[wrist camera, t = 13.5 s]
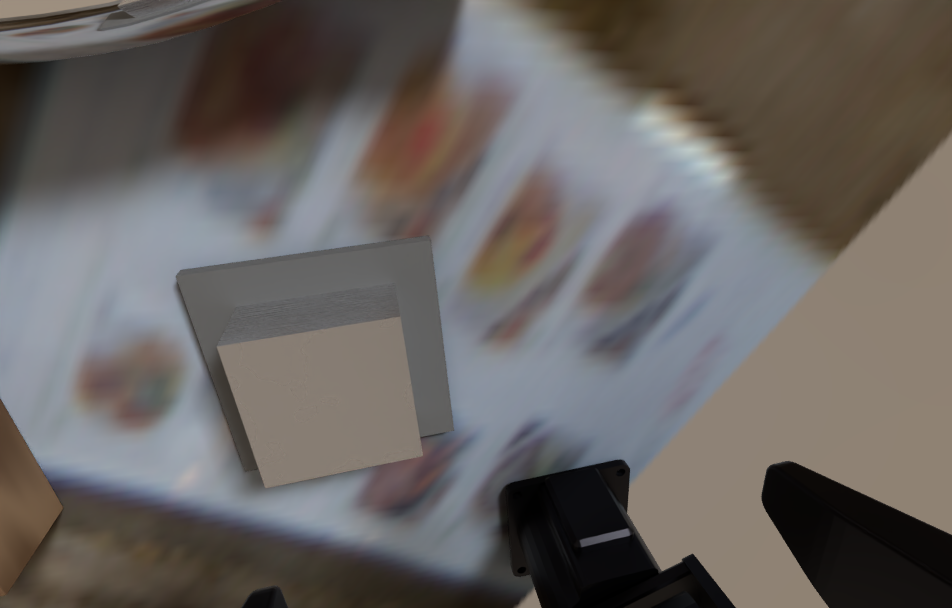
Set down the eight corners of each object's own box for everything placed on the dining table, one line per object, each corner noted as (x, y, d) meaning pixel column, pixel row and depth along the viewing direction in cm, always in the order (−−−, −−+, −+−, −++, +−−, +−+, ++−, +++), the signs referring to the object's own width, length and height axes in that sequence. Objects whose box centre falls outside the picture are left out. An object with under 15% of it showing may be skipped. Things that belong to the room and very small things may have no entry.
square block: (415, 409, 23) (423, 456, 20) (276, 435, 22) (265, 488, 19) (394, 282, 20) (400, 316, 17) (236, 307, 19) (216, 346, 16)
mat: (451, 422, 24) (453, 430, 24) (248, 462, 23) (245, 471, 22) (428, 235, 20) (430, 240, 20) (180, 270, 19) (175, 276, 18)
